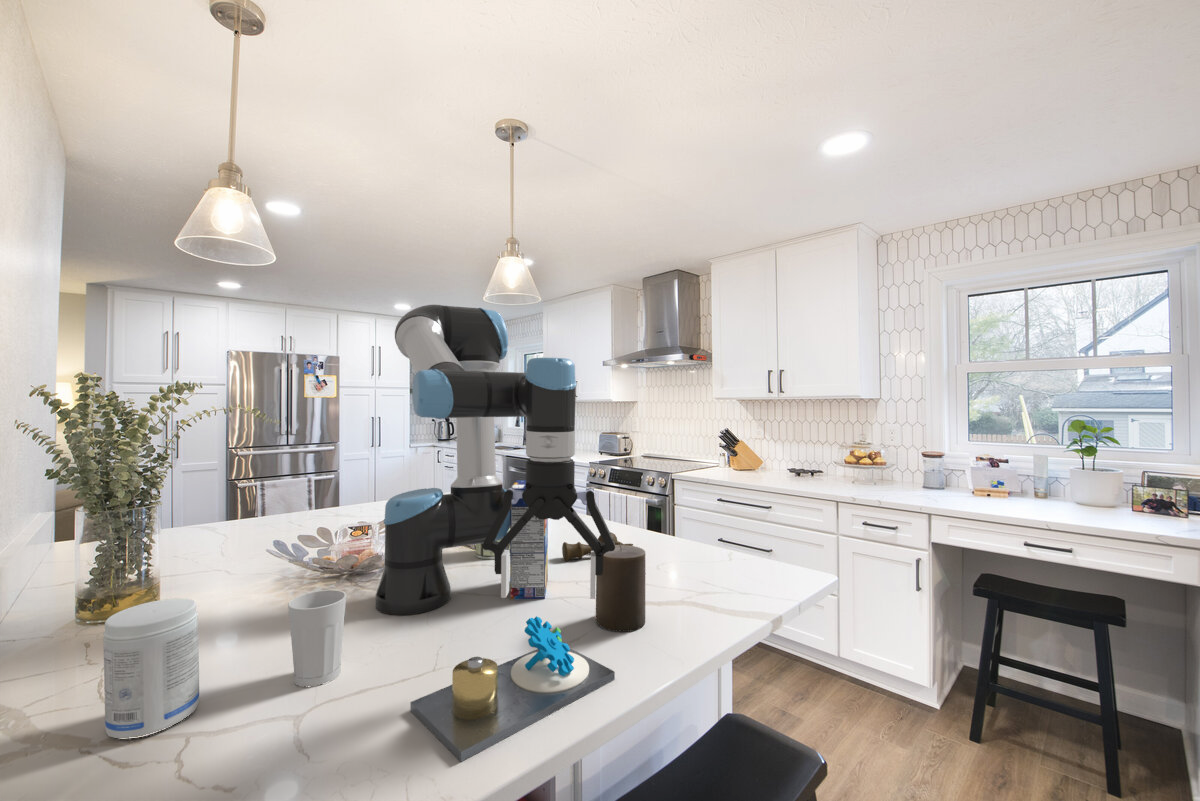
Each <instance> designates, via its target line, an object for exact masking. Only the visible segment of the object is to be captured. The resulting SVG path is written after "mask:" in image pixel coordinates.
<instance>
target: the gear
mask: <svg viewBox="0 0 1200 801" xmlns="http://www.w3.org/2000/svg"><path fill="white" fill-rule="evenodd" d="M525 623H526V625H527V626H526V627H525V628H524V633H525V634H526V635H527V636H529V638H528V639H527V642H528V645H529V646H530V647H531V648H534V649H536V650H537V649H538V652H537V653H536V654H535V655H534V656H533V657H532V658H531V659H530V660H529V661H528V662H527V663H526V664H525V667H526V669H527V670H530V669H531V668H532V667H533V666H534V665H535V664H536V663H537V662H538V661H539V660H540V661H543V660H544V659H545V658H548V659H549V660H550V663H549V664H548V665H547V666H548V668H549V669H550V670H551V671H552V672H554V671H555V670H556V669H557V668H558V666H559V669H558V673H559V674H560V675H562V676H565V675H566V674H567V673H570V672H571V671H572V670H573V669H574V667H573V666H572V665H571V664H572V663H573V662H574V658H573V657H572V656H571V655H570V654H568V652H569V651H570V648H571V647H570V646H569V644H568V643H565V642H563V640H562V638H563V636H562V634H561V633H562V631H561V629H560V628H559V627H557V626H556V627H555V628H554V629H553V630H552V631H551V629H552V628H553V626H552V624H551V623H550V622H549V621H547V620H546V621H545V622H544V623H543V619H542V618H541V617H539V616H535V617H529V618H528V619H527V620H526V621H525ZM542 623H543V624H542ZM557 665H558V666H557Z"/></svg>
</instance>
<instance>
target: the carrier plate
mask: <svg viewBox="0 0 1200 801" xmlns="http://www.w3.org/2000/svg"><path fill="white" fill-rule="evenodd" d="M569 648H570V651H569V652H572V653H575V654H577V655H579V656H581V657H582V658H584V659H585V660H586V661H587V663H588V665H589V674H588V676H587V678H586V679H585V680H584V681H583V682H582V683H581V684H579V685H578V686H576V687H574V688H571V689H569V690H565V691H561V692H555V693H538V692H532V691H528V690H525V689H523V688H521V687H519V686H517V685H516V684H515V683H514V682H513V680H512V678H511V669H512V667H513V665H514V664H515V663H516V662H517V661H518V660H519V659H521V658H522V657H524V656H526V655H529V654H532V653H535V652H538V649H537V648H536V649H535V650H532V651H529V652H528V653H525V654H522V655H520V656H517V657H516V658H513V659H511V660H508V661H506V662H503V663H501V664H497V662H496V661H494V660H493V659H489V658H486V657H481V656H474V657H473V656H472V657H470V658H469V659H467V660H464V661H461V662H459V663H458V664H457V665H455V666H454V667H453V670H452V680H451V681H452V684H451V685H448V686H446V687H443V688H441V689H439V690H436V691H434V692H432V693H429V694H427V695H424V696H421V697H419V698H417V699H414V700H412V701H410V702H409V703H410V712H411V713H412V714H413V715H414V717H415V718H417V720H419V721H420V722H421V723H422V724H423V726H425V727H426V728H427V729H428V731H430V732H431V733H432V734H433V735H434V736H435V737H436V738H437V739H438V741H439V742H441V744H442V745H443V746H444V747H445V748H446V749H447V750H448V751H449V752H450V753H451V755H453V756H454V757H455V758H456V759H457V760H458V761H459V762H460V763H463V762H464V761H466V760H467V759H470V758H471V757H473V756H475V755H476V754H480V753H481V752H482V751H485V750H486V749H489V748H491V747H492V746H495V745H496V744H497V743H500V742H501V741H503V740H505V739H506V738H509V737H510V736H513V735H514V734H516V733H518V732H519V731H521V730H523V729H525V728H527V727H529V726H531V725H533V724H534V723H537V722H538V721H540V720H542V719H544V718H545V717H548V716H549V715H552V714H553V713H555V712H557V711H558V710H560V709H562V708H564V707H567V706H568V705H570V704H571V703H574V702H576V701H577V700H579V699H581V698H583V697H585V696H587V695H588V694H591V693H592V692H593V691H595V690H597V689H600V688H601V687H603V686H605V685H608V684H609V683H611V682H612V681H615V679H616V678H615V674H616V673H615V671H614V670H613V669H612V668H608V667H606V666H605V665H604V664H602V663H599V662H597V661H596V660H594V659H592V658H590V657H588V656H587V655H584V654H582V653H580V652H578V651H577V650H574V649H573V648H571V647H569Z"/></svg>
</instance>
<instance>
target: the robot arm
mask: <svg viewBox="0 0 1200 801" xmlns="http://www.w3.org/2000/svg"><path fill="white" fill-rule="evenodd" d="M394 330H395V331H394V340H395V343H396V346H397V349H398V350H399V351H400V353H401V355H403V356H404V357H406V358H407V359H409V362H410V363H411V366H412V368H413V370H414V372H415V375H414V377H413V381H412V404H413V410H414V412H415V414H416V415H417V416H418V417H419V418H429V419H430V418H432V419H433V418H434V419H437V420H442V419H443V420H444V419H455V418H456V420H455V421H456V422H455V424H456V470H457V471H456V472H457V473H456V474H457V475H456V478H455V480H454V481H453V482H452V483H451V484H450V493H448V494H445V493H444V492H443V490H442V489H441V488H438V487H430V488H418V489H414V490H409V491H405V492H401V493H399V494H396V495H395V496H392V497H390V498H389V499H388V500H387V502H386V504H385V506H384V507H385V508H384V510H385V511H384V519H383V524H384V568H383V572H382V574H381V577H380V578H381V579H380V581H379V584H378V587H377V590H376V593H375V609H376V610H377V611H379V612H381V613H383V614H388V615H396V616H402V615H403V616H404V615H414V614H421V613H425V612H429V611H432V610H435V609H438V608H440V607H442V606H444V605H445V604H447V603H448V602H449V601H450V600H451V597H452V596H451V591H452V589H451V583H450V581H449V577H448V575H447V573H446V569H445V566H444V563H443V549H449V548H450V549H451V548H457V547H463V546H464V547H465V546H471V545H472V546H473V545H476V544H480V543H482V544H483V545H482V547H483V549H484V550H490V551H492V552H493V553H494V555H495V559H494V573H495V575H501V576H500V577H501V578H500V583H501V584H500V598H501V599H502V598H503V599H506V598H507V597H508V594H509V593H510V556H509V551H510V550H504V549H505V548H506V547H507V546H508V544H509V543H510V542H511V541H512V540H513V539H514V538H515V536H516V535H517V534H518V533H519V532H520V531H521V529H522V528H523V527H524V526H525V525H526V524H527V523H528V522H529V521H530V519H531V518H532V517H533V516H535V517H537V518H539V520H544V519H550V520H554V521H555V520H556V521H560V520H561V519H562V518H565V519H566V521H567V522H568V523H569V524H571V525H572V527H573V528H574V530H576V532H577V533H578V535H580V536H581V538H582V540H584V541H585V542H586V545H589V546H590V547H591V548H592V550H593V551H591V553H590V588H589V590H590V592H589V593H590V595H589V596H590V600H591V599H592V600H596V575H602V573H603V556H604V554H605V553H606V552H609V551H614V550H615V542H614V540H613V538H612V536H611V533H612V532H611V533H610V529H609V527H608V525H607V524H606V522H605V519H604V517H603V516H602V513H601V511H600V509H599V507H598V505H597V502H596V495H595V489H594V488H588V489H587V490H579V491H577V489H576V487H575V472H576V471H575V470H576V469H575V463H576V462H575V461H574V459H572V458H573V457H574V456H575V455H576V453H575V452H576V427H575V426H576V392H577V391H576V390H577V389H576V387H577V380H576V365H575V363H574V361H573V360H572V359H569V358H563V357H533V358H530V359H528V361H527V363H526V372H512V371H511V372H510V371H507V372H506V371H497V370H498V368H499V367H500V366H501V363H500V361H501V360H503V359H504V358H506V357H507V354H508V346H509V336H508V334H509V333H508V329H507V326H506V322H505V320H504V318H503V317H502V315H501V314H500V313H499V312H498V311H496V310H493V309H486V308H485V309H484V308H482V307H467V306H466V307H464V306H454V305H453V306H451V305H441V304H427V305H421V306H419V307H415V308H414V309H411V310H409V311H408V312H407V313H405V314H404V315H403V316H402V317H401V318H400V320H398V322H397V325H396V326H395V329H394ZM516 417H517V418H525V425H526V427H525V430H526V431H525V432H526V433H525V455H526V456H527V457H529V458H528V459H527V460H526V461H525V480H526V486H525V490H524V491H521V490H515V489H514V488H512V486H510V487H508V489H507V488H504V484H503V481H502V480H501V479H500V478H499V477H498V476H497V474H496V472H497V471H496V432H495V430H496V428H495V426H496V425H495V418H516ZM520 498H522V499H523V501H524V502H525V503H526V505H527V506H528V509H527V510H526V512H525V513H524V514H523V515H522V516H521V518H520V519H519V520H518V521H517V522H516V523H515V525H514V526H513V527H512V528H511V529H510V530H509V527H510V509H511V507H512V505H513V504H516V503H517V502H518V500H519V499H520ZM577 500H580V501H581V504H582V505H584V506H587V510H588V511H589V514H590V516H591V518H592V521H593V523H594V524H595V526H596V529H597V530H598V533H599V536H600V535H601V537H602V539H603V541H604V542H603V543H601V542H600V541H599V540H598V537H597V535H595V534H594V533H593V531H592V529H590V527H588V525H587V524H586V523H585V521H583V519H582V518H581V517H580V515H578V513H577V511H576V510H575V509H574V508H573V505H575V502H577ZM508 530H509V531H508ZM507 532H508V533H507ZM498 540H501V541H500V542H497V541H498Z"/></svg>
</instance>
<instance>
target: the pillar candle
mask: <svg viewBox="0 0 1200 801" xmlns="http://www.w3.org/2000/svg"><path fill="white" fill-rule="evenodd" d="M595 621H596V623H597V625H598V626H599V627H601V628H602V629H603V630H607V631H610V632H634V631H636V630H639V629H641V628H644V626H645V624H646V550H645V549H643V548H641V547H640V546H639V547H638V546H634V545H633V546H628V545H621V544H620V545H615V550H614V551H609V552H606V553H605V554H604V556H603V573H602V575H596V581H595Z"/></svg>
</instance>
